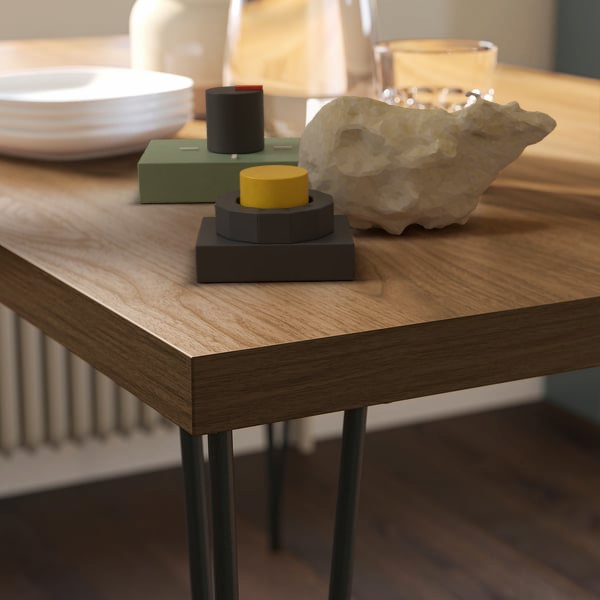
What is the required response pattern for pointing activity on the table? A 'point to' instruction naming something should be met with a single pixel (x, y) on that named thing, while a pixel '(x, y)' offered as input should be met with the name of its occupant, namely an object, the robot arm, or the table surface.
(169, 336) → the table surface
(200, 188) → the dial panel
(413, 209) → the cream lumpy rock
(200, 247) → the button housing
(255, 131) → the dial
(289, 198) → the trigger button
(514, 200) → the table surface
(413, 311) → the table surface
